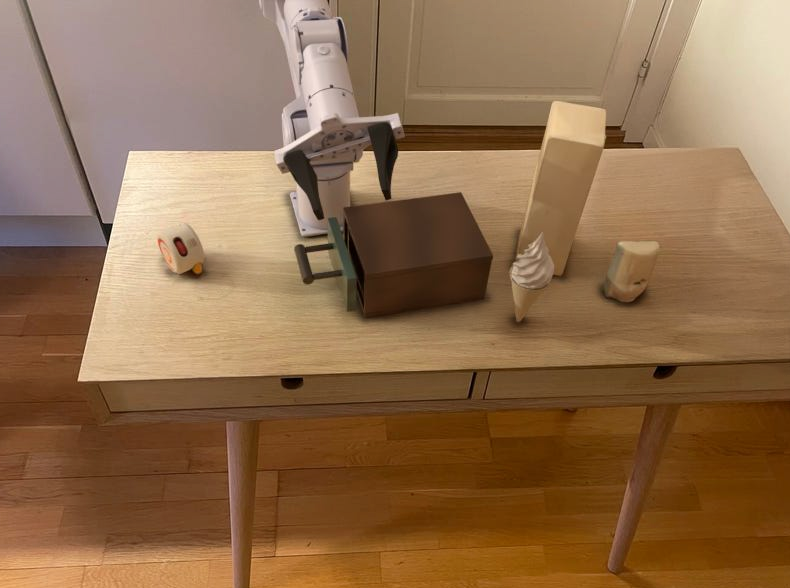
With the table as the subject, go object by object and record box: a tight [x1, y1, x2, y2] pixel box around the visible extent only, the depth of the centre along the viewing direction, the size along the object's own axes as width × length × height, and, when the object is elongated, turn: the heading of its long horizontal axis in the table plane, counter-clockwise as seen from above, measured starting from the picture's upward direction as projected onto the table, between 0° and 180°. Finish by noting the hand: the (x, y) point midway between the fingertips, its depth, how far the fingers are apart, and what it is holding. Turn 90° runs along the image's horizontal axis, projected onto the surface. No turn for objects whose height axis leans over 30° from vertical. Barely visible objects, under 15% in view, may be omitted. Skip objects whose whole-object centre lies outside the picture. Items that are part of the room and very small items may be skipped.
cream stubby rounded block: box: [602, 240, 662, 303], centre depth 98 cm, size 6×5×8 cm
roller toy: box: [156, 222, 206, 275], centre depth 97 cm, size 4×6×6 cm
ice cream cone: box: [509, 232, 554, 323], centre depth 91 cm, size 5×5×15 cm
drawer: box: [293, 217, 365, 313], centre depth 97 cm, size 20×11×6 cm, turn 106°
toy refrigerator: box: [514, 100, 607, 277], centre depth 97 cm, size 8×7×21 cm
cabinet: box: [342, 191, 494, 318], centre depth 98 cm, size 16×13×8 cm
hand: (352, 205), depth 81 cm, fingers open, 7 cm apart
